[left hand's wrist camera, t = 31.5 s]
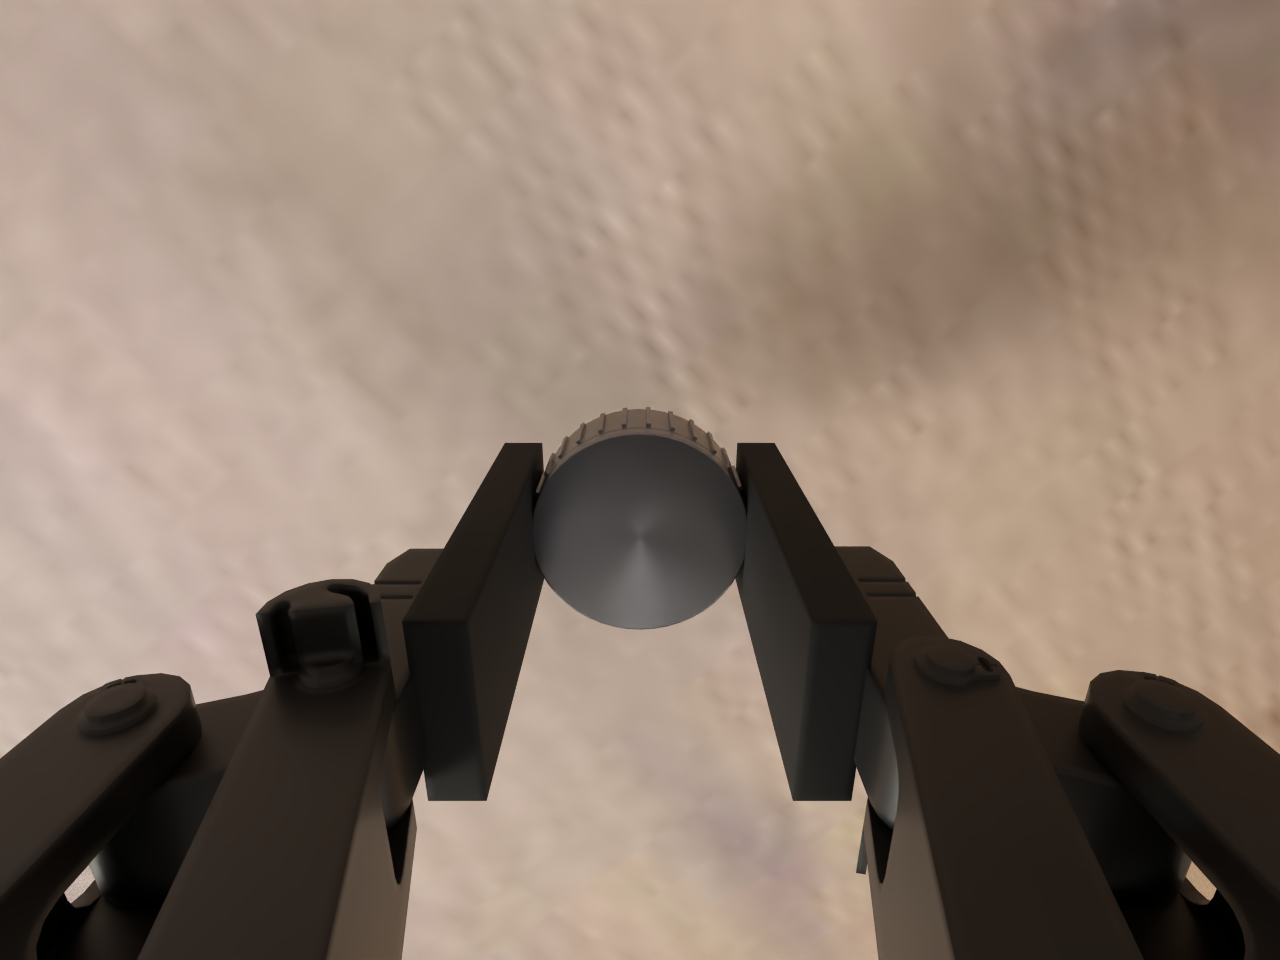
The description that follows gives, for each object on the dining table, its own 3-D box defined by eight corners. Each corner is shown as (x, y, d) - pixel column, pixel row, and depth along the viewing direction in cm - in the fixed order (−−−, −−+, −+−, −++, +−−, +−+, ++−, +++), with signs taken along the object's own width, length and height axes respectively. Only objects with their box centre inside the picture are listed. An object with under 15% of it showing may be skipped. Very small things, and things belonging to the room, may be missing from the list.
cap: (497, 504, 14) (481, 537, 13) (638, 361, 13) (638, 380, 12) (640, 624, 15) (640, 668, 14) (782, 502, 14) (798, 536, 13)
